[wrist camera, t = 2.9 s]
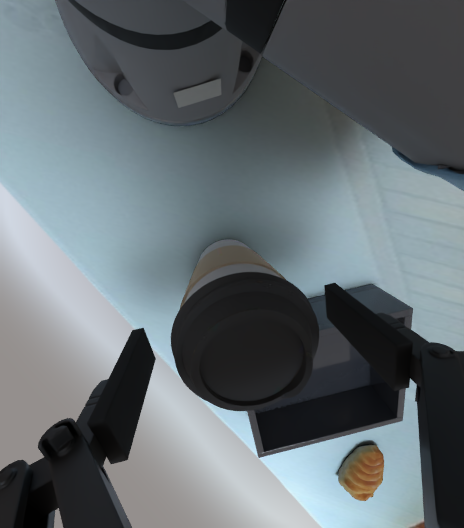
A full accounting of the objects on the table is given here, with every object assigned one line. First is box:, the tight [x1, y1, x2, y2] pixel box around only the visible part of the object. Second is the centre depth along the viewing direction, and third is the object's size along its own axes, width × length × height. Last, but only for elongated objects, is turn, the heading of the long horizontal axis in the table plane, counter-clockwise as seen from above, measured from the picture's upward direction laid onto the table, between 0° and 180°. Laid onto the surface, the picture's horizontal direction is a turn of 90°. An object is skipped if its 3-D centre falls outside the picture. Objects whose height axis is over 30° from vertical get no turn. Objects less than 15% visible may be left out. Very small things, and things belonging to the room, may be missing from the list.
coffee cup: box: [171, 239, 319, 411], centre depth 19 cm, size 9×9×15 cm
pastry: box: [338, 445, 384, 501], centre depth 39 cm, size 9×7×4 cm
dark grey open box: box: [247, 284, 413, 458], centre depth 29 cm, size 17×19×6 cm
